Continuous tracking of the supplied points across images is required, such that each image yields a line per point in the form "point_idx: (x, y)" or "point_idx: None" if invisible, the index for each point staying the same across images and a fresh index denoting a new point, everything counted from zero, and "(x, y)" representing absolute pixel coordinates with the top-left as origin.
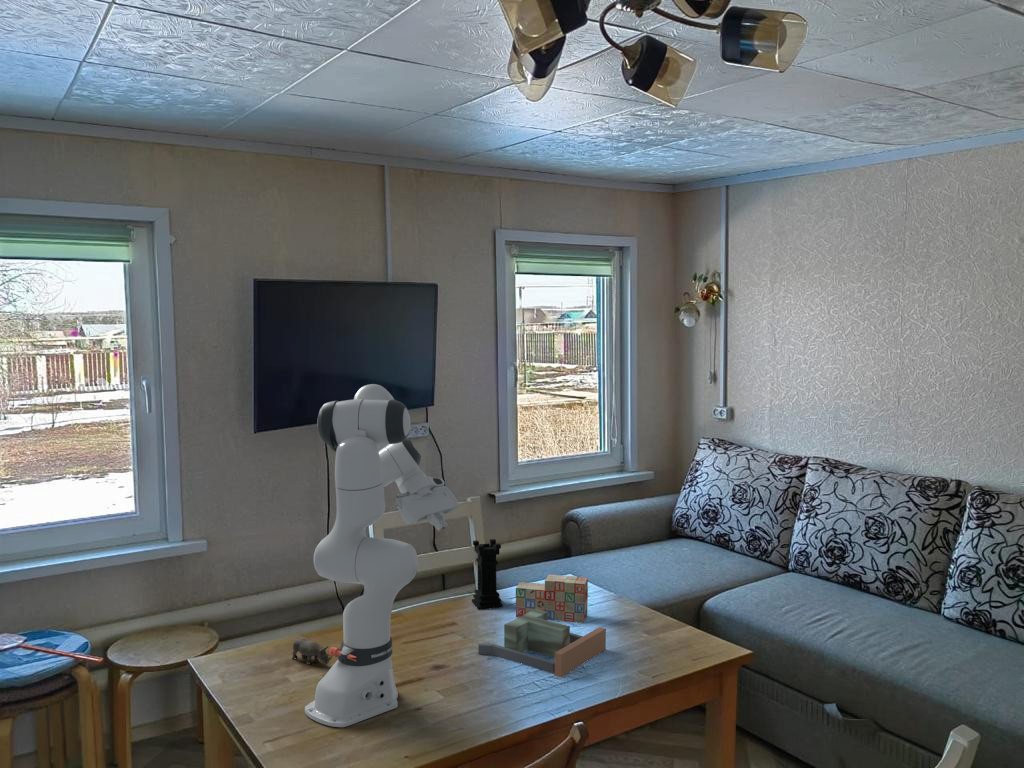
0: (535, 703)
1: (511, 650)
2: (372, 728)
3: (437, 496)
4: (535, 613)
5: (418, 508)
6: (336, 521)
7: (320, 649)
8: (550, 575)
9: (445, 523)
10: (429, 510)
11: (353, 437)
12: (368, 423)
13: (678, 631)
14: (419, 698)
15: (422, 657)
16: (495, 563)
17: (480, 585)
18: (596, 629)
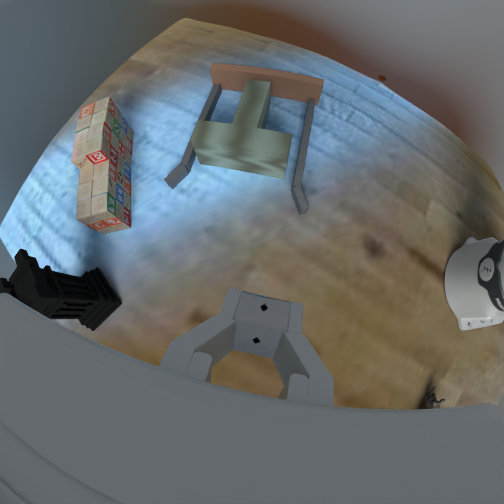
0: (386, 110)
1: (303, 154)
2: (495, 238)
3: (38, 484)
4: (212, 132)
5: (448, 473)
6: None
7: (439, 404)
8: (75, 156)
9: (238, 299)
10: (346, 434)
11: None
12: None
13: (141, 57)
14: (446, 225)
15: (356, 290)
16: (50, 270)
17: (84, 306)
18: (220, 68)
